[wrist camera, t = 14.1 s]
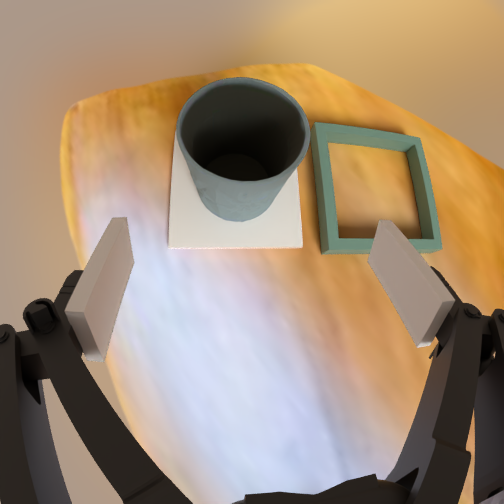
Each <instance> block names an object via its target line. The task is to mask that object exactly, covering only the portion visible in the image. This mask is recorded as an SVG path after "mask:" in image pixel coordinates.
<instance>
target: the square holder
mask: <svg viewBox="0 0 504 504" xmlns="http://www.w3.org/2000/svg"><path fill="white" fill-rule="evenodd" d="M310 142H311V150H312V158H313V167H314V176H315V185H316V195H317V205H318V216H319V228H320V241H321V254H370V252H371V248H372V245H373V241H374V239H361V238H339V235H338V224H337V214H336V205H335V196H334V187H333V179H332V172H331V164H330V157H329V150H328V143H327V142H331V143H341V144H350V145H358V146H367V147H374V148H382V149H389V150H395V151H402V152H406V154H407V158H408V162H409V167H410V171H411V176H412V181H413V186H414V191H415V196H416V202H417V207H418V213H419V220H420V226H421V233H422V239H408V240H409V242H410V243H411V244H412V245H413V246H414V248H415V249H416V250H417V251H418V252H419V253H433V252H436V251H439V250H441V249H442V242H441V235H440V228H439V222H438V216H437V210H436V205H435V199H434V194H433V190H432V185H431V180H430V176H429V171H428V167H427V163H426V159H425V155H424V151H423V147H422V144H421V140H420V138H418V137H413V136H408V135H403V134H398V133H392V132H386V131H380V130H374V129H367V128H361V127H353V126H346V125H338V124H329V123H320V122H315V123H314V125H313V127H312V129H311V131H310Z"/></svg>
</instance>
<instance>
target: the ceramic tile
mask: <svg viewBox="0 0 504 504" xmlns="http://www.w3.org/2000/svg"><path fill="white" fill-rule="evenodd" d="M302 247H303V241H302V226H301V212H300V199H299V187H298V175H297V168H296V169H295V171H294V172H293V173H292V175H291V176H290V177H289V178H288V180H287V181H286V183H285V185H284V186H283V187H282V189H281V190H280V192H279V193H278V194H277V196H276V197H275V199H274V201H273V202H272V204H271V205H270V207H269V208H268V209H267V210H266V211H265V212H264V213H263V214H261V215H260V216H258V217H256V218H254V219H251V220H247V221H244V222H241V221H239V222H234V221H226V220H224V219H222V218H219V217H217V216H216V215H214V214H213V213H211V212H210V211H209V210H208V209H207V208H206V207H205V205H204V204H203V203H202V201H201V199H200V197H199V194H198V191H197V188H196V186H195V184H194V182H193V179H192V177H191V174H190V170H189V168H188V165H187V163H186V161H185V159H184V156H183V154H182V152H181V149H180V147H179V144H178V141H177V135H176V131H175V141H174V153H173V165H172V179H171V196H170V216H169V244H168V248H169V249H241V248H302Z"/></svg>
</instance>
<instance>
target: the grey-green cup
mask: <svg viewBox="0 0 504 504" xmlns="http://www.w3.org/2000/svg"><path fill="white" fill-rule="evenodd" d="M176 135H177V141H178V144H179V147H180V149H181V152H182V154H183V156H184V159H185V161H186V163H187V165H188V168H189V170H190V174H191V177H192V179H193V182H194V184H195V186H196V188H197V191H198V194H199V197H200V199H201V201H202V203H203V204H204V205H205V207H206V208H207V209H208V210H209V211H210V212H211V213H213V214H214V215H216V216H217V217H219V218H222V219H224V220H226V221H234V222H239V221H241V222H244V221H247V220H251V219H254V218H256V217H258V216H260V215H261V214H263V213H264V212H265V211H266V210H267V209H268V208H269V207H270V205H271V204H272V202H273V201H274V199H275V197H276V196H277V194H278V193H279V192H280V190H281V189H282V187H283V186H284V185H285V183H286V181H287V180H288V178H289V177H290V176H291V175H292V173H293V172H294V171H295V169H296V168H297V167H298V165H299V164H300V163H301V161H302V160H303V159H304V157H305V155H306V152H307V150H308V147H309V143H310V127H309V123H308V120H307V117H306V114H305V113H304V111H303V109H302V107H301V106H300V105H299V104H298V102H297V101H296V100H295V99H294V98H293V97H292V96H291V95H289V94H288V93H287V92H286V91H284V90H283V89H281V88H279V87H277V86H275V85H273V84H270V83H267V82H265V81H261V80H258V79H253V78H245V77H236V78H226V79H222V80H218V81H215V82H212V83H210V84H208V85H206V86H204V87H202V88H201V89H199V90H198V91H197V92H195V93H194V94H193V95H192V96H191V97H190V98H189V99H188V100H187V102H186V103H185V105H184V106H183V108H182V110H181V112H180V114H179V117H178V121H177V125H176Z"/></svg>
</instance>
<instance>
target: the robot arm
mask: <svg viewBox="0 0 504 504" xmlns="http://www.w3.org/2000/svg"><path fill="white" fill-rule="evenodd" d="M368 263H369V265H370V266H371V268H372V269H373V271H374V273H375V274H376V276H377V278H378V279H379V281H380V283H381V284H382V286H383V288H384V289H385V291H386V293H387V295H388V296H389V298H390V300H391V301H392V303H393V305H394V307H395V308H396V310H397V312H398V314H399V316H400V317H401V319H402V321H403V323H404V324H405V326H406V328H407V330H408V332H409V334H410V335H411V337H412V339H413V341H414V343H415V345H416V347H417V348H419V347H424V346H429V345H430V344H431V343H432V341H433V339H434V338H435V336H436V338H437V339H438V341H439V342H438V344H437V345H436V347H435V349H434V350H433V352H432V353H431V355H430V356H429V359H431V357H432V356H433V359H432V363H431V367H430V370H429V374H428V377H427V381H426V384H425V388H424V391H423V394H422V397H421V400H420V403H419V406H418V409H417V412H416V415H415V418H414V421H413V424H412V426H411V429H410V432H409V434H408V437H407V439H406V442H405V444H404V447H403V449H402V452H401V454H400V457H399V459H398V461H397V463H396V465H395V467H394V469H393V470H392V472H391V473H390V474H389V475H388V477H387V478H386V480H378V479H377V477H376V474H372V475H368V476H364V477H360V478H356V479H352V480H347V481H345V482H343V483H341V484H339V485H336V486H334V487H332V488H330V489H328V490H325V491H323V492H321V493H319V494H314V495H311V494H298V493H287V492H272V493H261V494H246V495H245V498H244V500H241V501H237V502H235V503H232V504H458V501H459V499H460V495H461V492H462V489H463V486H464V483H465V479H466V476H467V472H468V469H469V465H470V461H471V453H470V452H469V451H466V443H467V439H468V434H469V430H470V425H471V420H472V415H473V409H474V417H475V468H474V491H473V495H474V504H504V310H502V309H495V310H494V312H493V314H492V315H491V316H485V315H482V314H481V312H480V310H479V309H477V308H476V307H475V306H473V305H472V304H469V303H463V302H462V301H461V300H460V298H459V297H458V296H457V294H456V293H455V292H454V290H453V289H452V288H451V286H449V284H448V282H447V281H445V278H444V277H443V276H442V275H441V273H440V272H439V271H437V270H436V269H435V268H433V267H432V266H429V265H428V264H427V262H426V261H425V260H424V259H423V257H422V256H421V255H420V254H419V252H418V251H417V250H416V249H415V248H414V246H413V245H412V244H411V243H410V242H409V240H408V239H407V238H406V237H405V236H404V235H403V233H402V232H401V231H400V230H399V229H398V228H397V226H396V225H395V224H394V223H393V222H392V221H391V220H379V223H378V227H377V230H376V234H375V238H374V241H373V245H372V248H371V252H370V255H369V258H368ZM133 265H134V259H133V253H132V248H131V242H130V236H129V229H128V223H127V217H122V218H112V220H111V221H110V223H109V225H108V227H107V228H106V230H105V232H104V234H103V235H102V237H101V239H100V241H99V243H98V245H97V246H96V248H95V250H94V252H93V254H92V256H91V258H90V259H89V261H88V263H87V265H86V267H85V269H84V270H75V271H73V272H72V273H71V274H70V275H69V276H68V277H67V278H66V280H65V282H64V284H63V287H62V288H61V290H60V291H59V294H58V296H57V297H56V299H55V302H54V303H53V302H52V301H51V300H49V299H47V298H40V299H37V300H34V301H33V302H31V303H30V304H28V306H27V307H26V308H25V310H24V312H23V319H24V321H25V323H26V325H27V326H28V328H29V330H27V331H21V332H16V331H15V329H14V328H13V327H12V326H11V325H8V324H2V325H0V501H1V504H72V502H71V500H70V497H69V494H68V491H67V488H66V485H65V482H64V478H63V476H62V472H61V469H60V465H59V461H58V458H57V455H56V450H55V446H54V442H53V438H52V434H51V429H50V425H49V420H48V415H47V409H46V404H45V398H44V392H43V385H42V379H49V378H50V380H51V382H52V384H53V386H54V388H55V391H56V392H57V395H58V397H59V399H60V401H61V403H62V405H63V406H64V409H65V410H66V412H67V414H68V416H69V418H70V420H71V422H72V423H73V425H74V427H75V429H76V431H77V432H78V434H79V436H80V437H81V439H82V441H83V442H84V444H85V446H86V447H87V449H88V451H89V452H90V454H91V455H92V457H93V458H94V460H95V462H96V463H97V465H98V466H99V468H100V469H101V471H102V472H103V473H104V475H105V476H106V478H107V479H108V481H109V482H110V483H111V485H112V486H113V488H114V489H115V490H116V491H117V493H118V494H119V496H120V497H121V499H122V500H123V503H124V504H193V503H192V502H191V501H190V500H189V499H188V498H187V497H186V496H185V495H184V494H183V493H182V492H181V491H180V490H179V489H178V488H177V487H176V486H175V484H174V483H173V482H172V481H171V480H170V479H169V478H168V477H167V476H166V475H165V474H164V473H163V472H162V471H161V470H160V469H159V468H158V466H157V465H156V464H155V463H154V462H153V461H152V459H151V458H150V457H149V456H148V454H147V453H146V452H145V451H144V450H143V448H142V447H141V446H140V444H139V443H138V442H137V441H136V439H135V438H134V437H133V435H132V434H131V433H130V431H129V430H128V429H127V427H126V426H125V425H124V423H123V422H122V421H121V419H120V418H119V417H118V415H117V414H116V412H115V411H114V409H113V408H112V407H111V405H110V403H109V402H108V400H107V399H106V397H105V396H104V395H103V393H102V391H101V390H100V388H99V387H98V385H97V383H96V382H95V380H94V379H93V377H92V375H91V374H90V372H89V370H88V369H87V367H86V365H85V364H84V362H83V360H82V358H81V356H82V353H84V355H85V357H86V359H87V360H88V361H98V362H104V361H105V358H106V354H107V350H108V346H109V343H110V339H111V335H112V332H113V328H114V325H115V321H116V318H117V315H118V311H119V308H120V305H121V301H122V298H123V295H124V292H125V289H126V286H127V283H128V280H129V277H130V274H131V271H132V268H133ZM495 352H496V353H495ZM494 353H495V358H494V356H493V354H494Z"/></svg>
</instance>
